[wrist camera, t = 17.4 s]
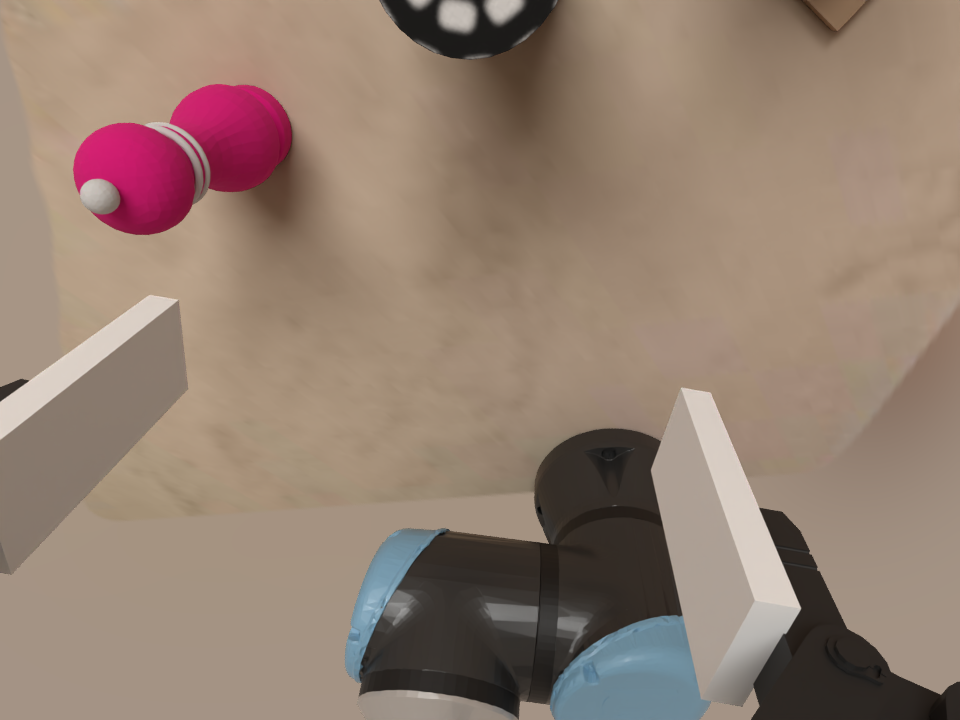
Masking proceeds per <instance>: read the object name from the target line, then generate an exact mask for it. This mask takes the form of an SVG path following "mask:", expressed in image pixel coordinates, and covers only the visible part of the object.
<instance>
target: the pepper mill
mask: <svg viewBox="0 0 960 720" xmlns="http://www.w3.org/2000/svg"><path fill="white" fill-rule="evenodd" d="M291 140H292V132H291V126H290V122H289V119H288V117H287V114H286V112H285V111H284V109H283V107H282V106H281V105H280V103H279V102H278V101H277V100H276V99H275V98H274V97H273V96H272V95H270V94H269V93H268V92H266V91H264V90H262V89H260V88H258V87H255V86H249V85H237V86H229V85H223V84H215V85H208V86H205V87H202V88H200V89H198V90H196V91H194V92H192V93H190V94H189V95H188V96H186V97H185V98H184V99H183V100H182V101H181V102H180V104H179V105H178V106H177V107H176V109H175V110H174V112H173V115H172V117H171V120H170V123H164V122H152V123H148V124H145V125H140V124H135V123H117V124H112V125H108V126H106V127H103V128H101V129H99V130H97V131H95V132H94V133H92V134H91V135H90V136H88V137H87V138H86V140H85V141H84V142H83V143H82V144H81V146H80V148H79V149H78V151H77V153H76V156H75V160H74V168H73V171H74V180H75V184H76V187H77V190H78V192H79V194H80V198H81V201H82V203H83V205H84V206H85V207H86V208H87V209H88V210H90V211H91V212H92V213H93V214H94V215H95V216H96V217H97V218H98V219H99V220H101V221H102V222H104V223H105V224H107V225H109V226H110V227H112V228H114V229H116V230H119V231H122V232H125V233H130V234H135V235H150V234H155V233H161V232H163V231H166V230H168V229H170V228H172V227H174V226H176V225H177V224H178V223H180V222H181V221H182V220H183V219H184V218H185V216H186V215H187V214H188V212H189V211H190V209H191V207H192V205H193V204H195V203H197V202H198V201H199V200H201V199H202V198H203V196H204V195H205V194H206V192H207V190H208V188H209V189H213V190H216V191H222V192H240V191H245V190H248V189H251V188H253V187H255V186H257V185H259V184H261V183H263V182H264V181H265V180H266V179H267V178H268V177H269V176H270V175H271V173H272V172H273V170H274V169H275V167H276V165H278V164H279V163H280V162H282V161H283V159H284V158H285V157H286V155H287V154H288V151H289V149H290V146H291Z"/></svg>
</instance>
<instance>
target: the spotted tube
mask: <svg viewBox="0 0 960 720" xmlns="http://www.w3.org/2000/svg"><path fill="white" fill-rule="evenodd" d="M379 1H380V2H381V4H382V6H383V8H384V10H385V11H386V13H387V14H388V15H389V16H390V18H391V19H392V20H393V21H394V23H395V24H396V25H397V26H398V28H399V29H400V30H401V31H403V32H404V33H405V34H406V35H407V36H409V37H410V38H411V39H412V40H413V41H414V42H416V43H417V44H419V45H421V46H423V47H425V48H426V49H428V50H430V51H432V52H434V53H437V54H440V55H444V56H447V57H450V58H458V59H469V60H472V59H479V58H487V57H492V56H494V55H497V54H500V53H503V52H505V51H508V50H510V49H511V48H513V47H515V46H516V45H518V44H520V43H521V42H523V41H524V40H526V39H527V38H528V37H529V36H530V35H531V34H532V33H533V32H534V31H536V30H537V29H538V28H539V27H540V26H541V25H542V24H543V22H544V21H545V19H546V18H547V17H548V15H549V14H550V13H551V11H552V10H553V9H554V7H555V5H556V3H557V1H558V0H379Z"/></svg>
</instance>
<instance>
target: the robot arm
mask: <svg viewBox="0 0 960 720" xmlns="http://www.w3.org/2000/svg"><path fill="white" fill-rule="evenodd" d="M187 389H188V383H187V374H186V364H185V355H184V345H183V336H182V327H181V317H180V308H179V300H176V299H170V298H165V297H159V296H153V295H149V296H147V297H146V298H145V299H143V300H142V301H140V302H139V303H138V304H136V305H135V306H133V307H132V308H131V309H129V310H128V311H126V312H125V313H124V314H122V315H121V316H119V317H118V318H117V319H115V320H114V321H112V322H111V323H110V324H108V325H107V326H106V327H104V328H103V329H101V330H100V331H99V332H97V333H96V334H94V335H93V336H92V337H90V338H89V339H87V340H86V341H85V342H83V343H82V344H80V345H79V346H78V347H76V348H75V349H73V350H72V351H71V352H69V353H68V354H66V355H65V356H64V357H62V358H61V359H59V360H58V361H57V362H55V363H54V364H52V365H51V366H50V367H48V368H47V369H45V370H44V371H43V372H41V373H40V374H39V375H37V376H36V377H34V378H33V379H32V380H30V381H29V380H23V379H20V380H17V381H15V382H12V383H10V384H8V385H5V386H2V387H0V573H5V574H10V575H11V574H13V573H14V571H15V570H16V569H17V568H18V567H19V566H20V565H21V564H22V563H23V562H24V561H25V560H26V559H27V558H28V557H29V556H30V554H32V553H33V551H34V550H35V549H36V548H37V547H38V546H39V545H40V544H41V543H42V542H43V541H44V540H45V539H46V538H47V537H48V536H49V535H50V534H51V533H52V531H53V530H54V529H55V528H56V527H57V526H58V525H59V524H60V523H61V522H62V521H63V520H64V519H65V518H66V517H67V516H68V515H69V514H70V513H71V511H72V510H73V509H74V508H75V507H76V506H77V505H78V504H79V503H80V502H81V501H82V500H83V499H84V498H85V497H86V496H87V495H88V494H89V493H90V492H91V490H92V489H93V488H94V487H95V486H96V485H97V484H98V483H99V482H100V481H101V480H102V479H103V478H104V477H105V476H106V475H107V474H108V473H109V472H110V470H111V469H112V468H113V467H114V466H115V465H116V464H117V463H118V462H119V461H120V460H121V459H122V458H123V457H124V456H125V455H126V454H127V453H128V452H129V450H130V449H131V448H132V447H133V446H134V445H135V444H136V443H137V442H138V441H139V440H140V439H141V438H142V437H143V436H144V435H145V434H146V433H147V432H148V431H149V429H150V428H151V427H152V426H153V425H154V424H155V423H156V422H157V421H158V420H159V419H160V418H161V417H162V416H163V415H164V414H165V413H166V412H167V411H168V409H169V408H170V407H171V406H172V405H173V404H174V403H175V402H176V401H177V400H178V399H179V398H180V397H181V396H182V395H183V394H184V393H185V392H186V391H187ZM534 500H535V509H536V513H537V516H538V519H539V521H540V524H541V526H542V527H543V531H544V533H545V535H546V538H547V540H548V542H549V544H546V543H539V542H531V541H522V540H515V539H506V538H499V537H491V536H484V535H476V534H469V533H461V532H453V531H450V530H449V529H445V528H442V529H438V530H424V529H409V528H408V529H402V530H398V531H396V532H394V533H393V534H392V535H390V536H389V537H388V538H387V539H386V540H385V542H383V543H382V545H381V546H380V547H379V549H378V551H377V553H376V554H375V556H374V558H373V560H372V562H371V564H370V566H369V568H368V571H367V573H366V575H365V578H364V581H363V583H362V586H361V589H360V592H359V595H358V598H357V601H356V604H355V607H354V611H353V615H352V619H351V625H352V629H351V630H350V633H349V636H348V640H347V644H346V651H345V667H346V671H347V673H348V675H349V676H350V677H352V678H353V679H355V681H356V682H359V683H362V684H361V688H360V693H359V698H358V707H359V709H360V711H361V712H362V714H363V716H364V718H365V720H519V705H520V701H525V702H534V703H541V704H547V705H550V710H551V712H552V715H553V717H554V719H555V720H699V719H700V718H701V717H702V716H703V715H704V713H705V712H706V711H707V709H708V707H709V705H710V703H711V701H713V702H719V703H724V704H730V705H735V706H741V707H742V706H743V704H744V703H745V701H746V699H747V698H748V696H749V694H750V693H751V691H752V689H753V688H754V689H755V692H756V696H757V699H758V702H759V705H760V707H759V708H758V710H757V711H756V713H755V714H754V716H753V717H752V719H751V720H960V682H956V683H954V684H953V685H951V686H949V687H948V688H947V689H946V690H945V691H944V693H943V694H942V695H940V694H938V693H935V692H933V691H931V690H929V689H926V688H924V687H922V686H920V685H917V684H915V683H913V682H910V681H908V680H906V679H904V678H901V677H899V676H897V675H896V674H894V673H892V672H891V671H890V669H889V667H888V664H887V662H886V661H885V660H884V658H883V657H882V656H881V654H880V653H879V652H878V651H877V649H876V648H875V647H873V646H872V645H871V644H870V643H869V642H867V641H866V640H865V639H864V638H863V637H861V636H859V635H857V634H855V633H854V632H852V631H850V630H848V629H847V627H846V625H845V623H844V621H843V619H842V617H841V615H840V613H839V611H838V609H837V607H836V605H835V602H834V600H833V598H832V596H831V594H830V592H829V590H828V588H827V586H826V584H825V582H824V580H823V578H822V575H821V573H820V572H819V571H817V565H816V563H815V561H814V559H813V557H812V555H810V554H809V552H810V550H809V548H808V546H807V544H806V542H805V540H804V538H803V536H802V534H801V532H800V530H799V529H798V528H797V527H796V526H795V525H794V524H793V523H792V522H791V521H790V520H789V519H788V518H787V516H786V515H785V514H784V513H783V512H780V511H774V510H769V509H763V508H759V507H758V505H757V502H756V500H755V497H754V495H753V493H752V491H751V488H750V486H749V483H748V481H747V478H746V476H745V474H744V471H743V469H742V466H741V464H740V462H739V459H738V457H737V455H736V452H735V450H734V447H733V445H732V443H731V440H730V438H729V436H728V433H727V431H726V428H725V426H724V424H723V421H722V419H721V416H720V414H719V412H718V409H717V407H716V405H715V402H714V400H713V397H712V395H711V393H710V392H704V391H698V390H692V389H687V388H680V391H679V394H678V397H677V400H676V402H675V405H674V408H673V411H672V413H671V416H670V419H669V422H668V424H667V427H666V430H665V433H664V435H663V438H662V441H659V440H657V439H655V438H653V437H651V436H649V435H646V434H643V433H640V432H636V431H632V430H625V429H600V430H594V431H589V432H585V433H582V434H579V435H576V436H574V437H572V438H570V439H568V440H566V441H564V442H563V443H561V444H560V445H558V446H557V447H556V448H554V449H553V450H552V451H551V452H550V453H549V454H548V455H547V456H546V458H545V459H544V460H543V462H542V464H541V465H540V467H539V469H538V472H537V475H536V479H535V496H534Z"/></svg>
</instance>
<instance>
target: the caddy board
mask: <svg viewBox="0 0 960 720" xmlns="http://www.w3.org/2000/svg"><path fill="white" fill-rule="evenodd" d="M802 1H803V2H804V3H805V4H806V5H807V6H808V7H809V8H810V9H811V10H812V11H813V12H814V13H815V14H816V15H817V16H818V17H819V18H820V19H821V20H822V21H823V22H824V23H825V24H826V25H827V26H828V27H829V28H830V29H831V30H832V31H839V30H840V28H841V27H842V26H843V25H844V24H845V23H846V22H847V21H848V20H849V19H850V18H851V17H852V16H853V15H854V14H855V13H856V11H857V10H858V9H859V8H860V7H861V6H862V5H863V4H864V3H865V2H866V1H867V0H802Z"/></svg>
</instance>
